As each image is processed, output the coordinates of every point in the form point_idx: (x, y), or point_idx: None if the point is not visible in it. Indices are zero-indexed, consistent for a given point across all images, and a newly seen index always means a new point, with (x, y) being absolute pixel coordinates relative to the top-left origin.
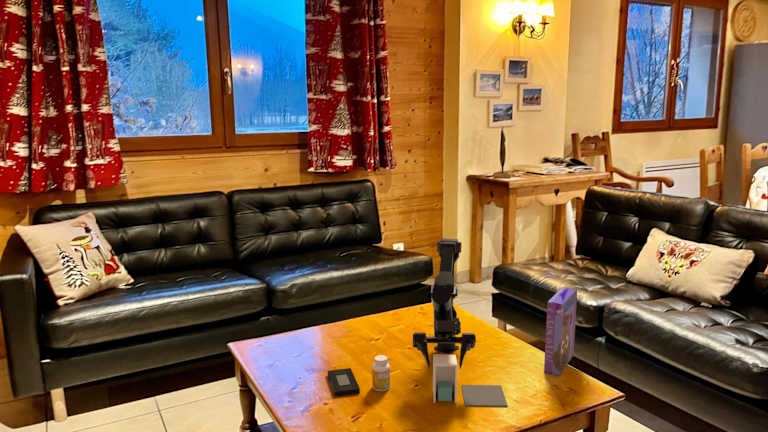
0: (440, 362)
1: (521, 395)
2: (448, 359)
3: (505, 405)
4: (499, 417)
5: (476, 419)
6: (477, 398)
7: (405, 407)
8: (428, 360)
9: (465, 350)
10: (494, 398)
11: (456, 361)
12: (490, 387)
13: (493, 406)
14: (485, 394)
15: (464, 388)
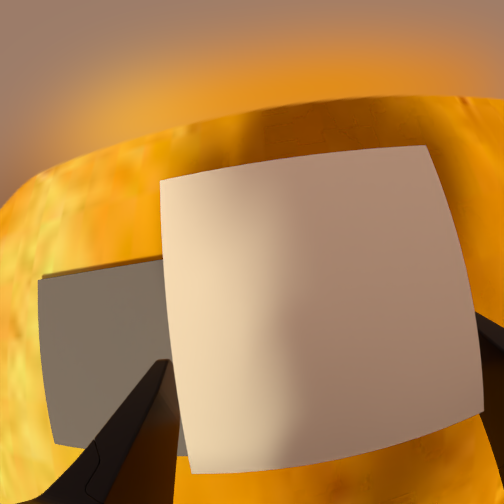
0: (374, 193)
1: (3, 369)
2: (281, 305)
3: (43, 279)
4: (76, 200)
5: (152, 166)
6: (134, 323)
7: None
8: (493, 334)
9: (54, 487)
10: (71, 332)
11: (167, 262)
12: (87, 429)
13: (81, 274)
14: (102, 365)
15: None
